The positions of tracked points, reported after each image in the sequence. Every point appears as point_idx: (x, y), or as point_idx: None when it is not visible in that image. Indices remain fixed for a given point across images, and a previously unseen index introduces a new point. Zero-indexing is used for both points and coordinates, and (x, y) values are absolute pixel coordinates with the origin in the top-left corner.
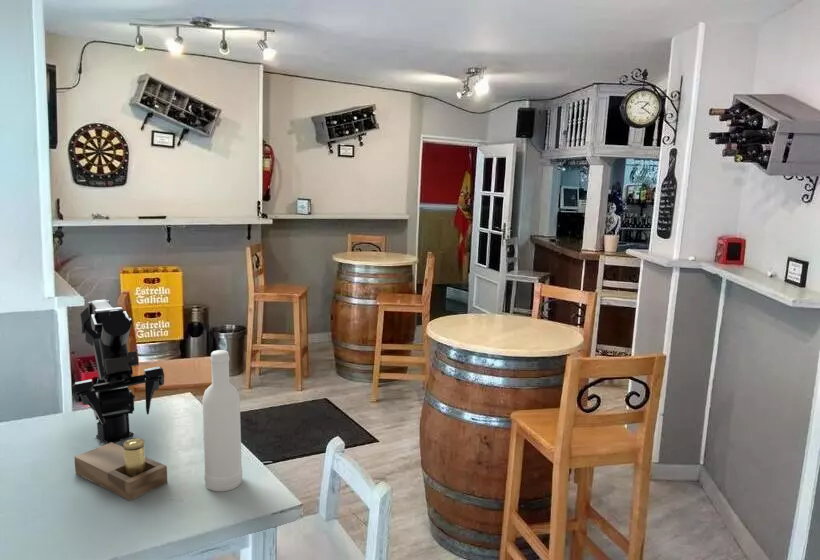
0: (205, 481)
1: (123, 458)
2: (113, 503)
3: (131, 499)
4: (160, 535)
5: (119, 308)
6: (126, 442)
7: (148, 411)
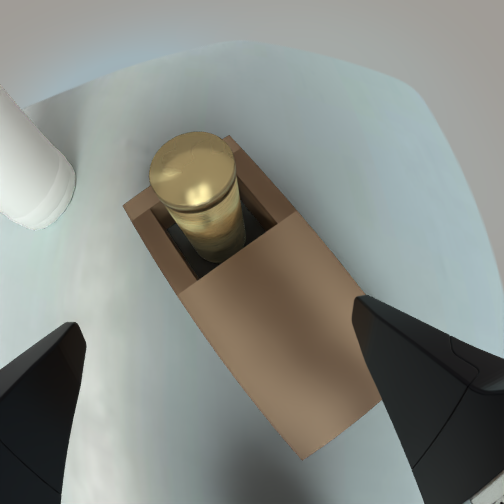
0: (69, 179)
1: (251, 304)
2: (272, 164)
3: None
4: (187, 60)
5: None
6: (221, 171)
7: (63, 326)
